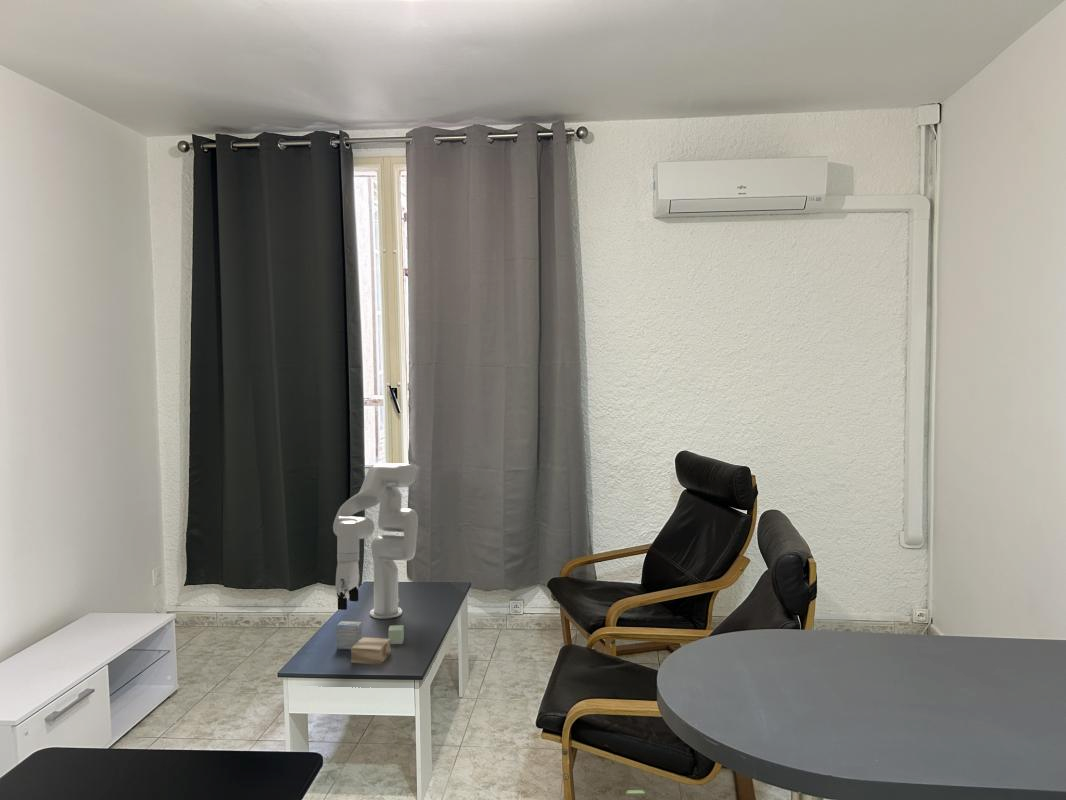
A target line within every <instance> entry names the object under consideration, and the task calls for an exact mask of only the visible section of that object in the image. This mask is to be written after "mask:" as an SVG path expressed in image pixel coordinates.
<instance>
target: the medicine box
mask: <svg viewBox="0 0 1066 800" xmlns="http://www.w3.org/2000/svg"><path fill="white" fill-rule="evenodd" d="M361 638H363V622H362V621H347V620H346V621H345V620H342V621H340V622H338V624H337V625H336V650H351V648H352V647H353V646H354V645H355V644H356V643H357V642H358V641H359V640H360V639H361Z"/></svg>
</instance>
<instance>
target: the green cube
mask: <svg viewBox="0 0 1066 800" xmlns="http://www.w3.org/2000/svg"><path fill="white" fill-rule="evenodd" d="M404 627H405V626H404V624H403V625H402V624H400V625H398V624H397V625H389V627H388V635H387V636H388V637H387V639H390V645H402V644H403V643H404V636H405V634H404V631H405V630H404Z"/></svg>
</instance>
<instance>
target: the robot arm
mask: <svg viewBox="0 0 1066 800" xmlns="http://www.w3.org/2000/svg"><path fill="white" fill-rule="evenodd" d="M416 473H417V472H416V469H415V466H414V465H412V464H411V463H410V464H409V463H391V462H390V463H388V462H387V463H378V464H374V465H372V466H370V467H369V469H368V471H367V472H366V475H365V478H364V479H363V483H362V485H361V488H360V489H359V492H358V493H356V494H354V495H353V496H351V497H350V498H348V499H347V500H346V501H345V502H344V503H343V504H342V505H341V506H340V507H339V509H338V511H337V513H336V515H335V518H334V521H333V525H332V530H333V534H334V535H335V536H336V539H337V541H336V542H337V545H336V547H337V548H336V549H337V550H336V551H337V554H336V557H337V558H336V559H337V560H336V561H337V564H336V565H337V566H336V573H335V591H336V598H337V610H348V599H349V602H358V601H359V589H360V586H359V584H360V576H361V575H360V565H359V561H360V540H362V539H367V538H369V537H371V535H372V534H373V533H374V529H375V522H374V520H372V519H371V518H370V517H366V516H354V515H355V514H357V513H358V512H362V511H365V510H367V509H370V508H373V507H375V506H378V504H379V508H378V509H379V510H378V520H377V526H378V529H379V530H380V531H383V532H387V533H388V532H389V533H403V535H395V534H394V535H393V534H391V535H390V534H381V535H377V536H375V537H373V539H372V541H371V545H370V548H371V550H370V551H371V556H372V563H373V608H372V609H371V610H370V611H369V615H370V617H371V618H373V619H382V620H387V619H389V620H390V619H394V618H397V617H400V616H401V615H402V614H403V609H402V608H401V607H399V602H400V598H399V568H398V565H397V564H396V562H395V561H404V562H405V561H411V560H413V559H414V557H415V555H416V551H417V550H416V548H417V541H418V528H419V517H418V513H417V511H416V510H415V509H414V508H413V509H412V508H402V500H403V496H402V493H401V491H400V489H399V488H404V487H409V486H411V485H412V484H414V482H415V480H416V477H417V475H416ZM347 594H349V595H347ZM347 596H349V598H347Z"/></svg>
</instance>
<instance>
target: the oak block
mask: <svg viewBox="0 0 1066 800" xmlns="http://www.w3.org/2000/svg"><path fill="white" fill-rule="evenodd" d="M350 651H351V652H350V655H351V658H350V662H351V663H352V664H354V663H355V664H364V665H377V666H378V665H379V666H380V665H381V664H382V663H383V662H384V661H385V660H386V659H387V658H388V657H389V656H390V654H391V653H392V652H391V644H390V639H388V638H381V637H368V636H367V637H366V636H365V637H364V636H362V638H361V639H360V640H359V641H358V642H357V643H356V644H355V645H354V646H353V647H352V648H351V649H350Z"/></svg>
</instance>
